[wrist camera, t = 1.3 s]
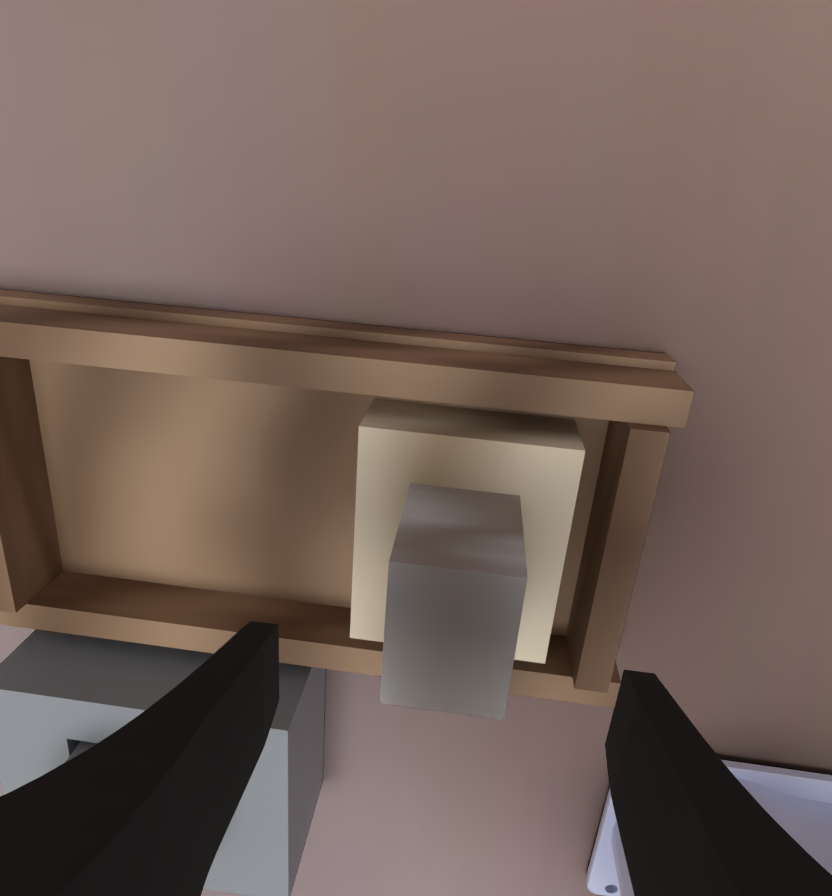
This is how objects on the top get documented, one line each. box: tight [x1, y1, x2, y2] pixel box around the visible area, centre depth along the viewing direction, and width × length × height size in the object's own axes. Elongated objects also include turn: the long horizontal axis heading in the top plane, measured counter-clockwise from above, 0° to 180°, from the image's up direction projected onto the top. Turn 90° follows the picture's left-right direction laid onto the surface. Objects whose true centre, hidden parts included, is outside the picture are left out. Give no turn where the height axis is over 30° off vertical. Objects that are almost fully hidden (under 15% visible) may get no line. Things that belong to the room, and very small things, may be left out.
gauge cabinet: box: [0, 629, 326, 896], centre depth 24 cm, size 10×8×5 cm
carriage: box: [350, 399, 585, 720], centre depth 18 cm, size 6×7×6 cm
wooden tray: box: [0, 289, 694, 708], centre depth 20 cm, size 21×11×4 cm, turn 86°
